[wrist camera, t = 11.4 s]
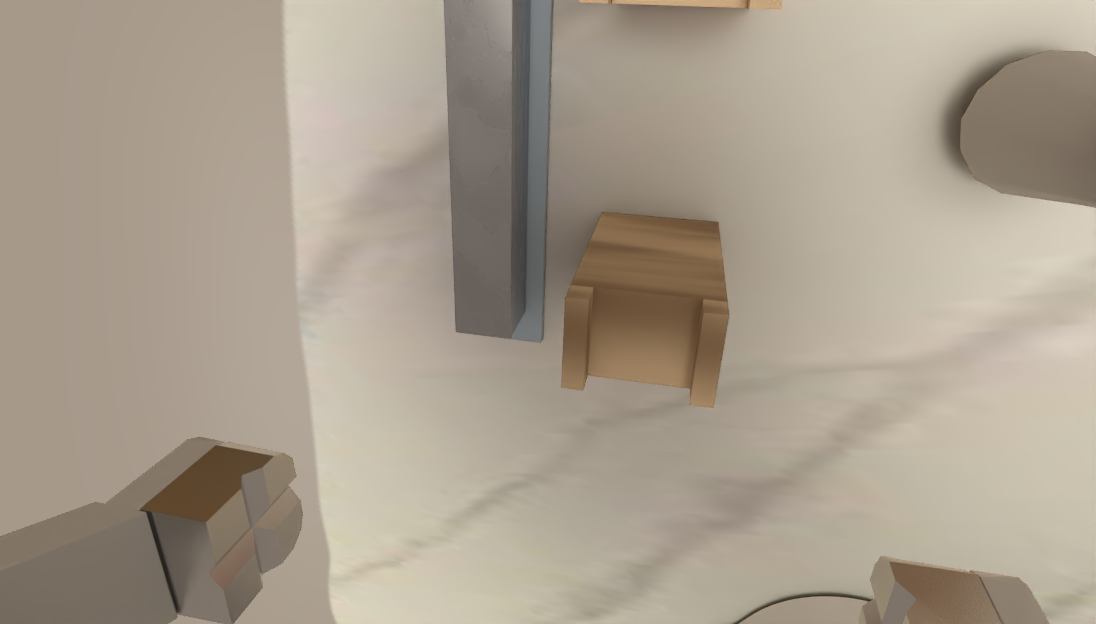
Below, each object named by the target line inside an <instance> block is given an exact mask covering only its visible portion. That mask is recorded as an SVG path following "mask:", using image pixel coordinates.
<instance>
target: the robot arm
mask: <svg viewBox="0 0 1096 624" xmlns="http://www.w3.org/2000/svg"><path fill="white" fill-rule="evenodd" d="M295 478H296V472H295V468H294V463H293V458H292V457H290V456H288V455H286V454H285V453H282V452H277V451H272V450H267V449H261V448H256V447H252V446H247V445H242V444H236V443H231V442H222V441H218V440H213V439H208V438H203V437H196V438H192V439H187V440H186V441H185V442H183V443H182V444H181V445H180V446H178V447H177V448H176V449H174V450H173V451H172V452H171V453H169V454H168V455H167V456H165V457H164V458H163V459H162V460H160V461H159V462H158V463H156V464H155V465H154V466H152V467H151V468H150V469H149V470H147V471H146V472H145V473H143V474H142V475H141V476H140V477H138V478H137V479H136V480H135V481H133V482H132V483H131V484H129V485H128V486H127V487H125V488H124V489H123V490H122V491H120V492H119V493H118V494H117V495H115V496H114V497H113V498H111V499H110V500H109V501H108V502H106V503H105V504H104V503H99V502H94V503H91V504H88V505H85V506H83V507H80V508H77V509H75V510H72V511H69V512H66V513H63V514H61V515H58V516H55V517H52V518H50V519H47V520H44V521H41V522H38V523H36V524H33V525H30V526H27V527H25V528H22V529H19V530H16V531H13V532H11V533H8V534H5V535H3V536H0V624H168V623H170V622H172V621H173V620H175V619H176V618H177V614H178V615H183V616H188V617H193V618H198V619H203V620H208V621H213V622H218V623H223V624H233V623H234V622H235V621H236V620H237V619H238V617H239V616H240V615H241V614H242V613H243V611H244V610H245V609H246V608H247V606H248V605H249V604H250V603H251V601H252V600H253V599H254V598H255V597H256V595H257V594H258V592H260V590H261V589H262V588H263V573H265V572H267V571H269V570H271V569H273V568H275V567H277V566H278V565H280V564H282V563H283V562H284V560H285V559H286V558H287V556H288V555H289V554H290V552H291V551H292V550H293V548H294V546H295V543H296V541H297V539H298V536H299V534H300V531H301V527H302V526H301V525H302V516H303V512H302V506H301V500H300V499H299V498H298V496H297V495H296V494H295V493H294V492H293V490H292V489H291V488H290V487H289V486H290V485H291V483H292V482H293V481H294V479H295ZM870 581H871V585H872V589H873V592H874V596H875V598H874V599H873V600H871V601H869V602H868V601H864V600H859V599H853V598H845V597H832V596H818V597H805V598H798V599H793V600H788V601H784V602H780V603H777V604H774V605H771V606H769V607H766V608H764V609H762V610H760V611H758V612H756V613H754V614H753V615H751V616H750V617H748V618H747V619H745V620H743V621H742V622H740V623H739V624H1049V622H1048V620H1047V618H1046V617H1045V615H1044V613H1043V611H1042V610H1041V608H1040V606H1039V604H1038V603H1037V601H1036V599H1035V597H1034V596H1033V594H1032V592H1031V590H1030V589H1029V587H1028V585H1027V584H1026V583H1024V582H1023V581H1022V580H1021V579H1019V578H1017V577H1011V576H1004V575H998V574H991V573H985V572H978V571H966V570H961V569H955V568H949V567H943V566H937V565H931V564H925V563H919V562H913V561H907V560H901V559H895V558H889V557H883V556H881V557H880V558H879V559H878V561H877V562H876V564H875V566H874V569H873V572H872V575H871V578H870Z"/></svg>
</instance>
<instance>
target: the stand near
mask: <svg viewBox="0 0 1096 624" xmlns="http://www.w3.org/2000/svg"><path fill="white" fill-rule="evenodd" d="M579 3H612V4H642V5H671V6H700V7H729V8H755V9H781V6H782V0H579Z"/></svg>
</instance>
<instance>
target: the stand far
mask: <svg viewBox="0 0 1096 624" xmlns="http://www.w3.org/2000/svg"><path fill="white" fill-rule="evenodd" d="M728 319H729V310H728V301H727V293H726V284H725V275H724V267H723V258H722V249H721V241H720V232H719V223H718V222H707V221H696V220H684V219H673V218H662V217H650V216H639V215H628V214H616V213H605V212H602V214H601V217H600V219H599V221H598V223H597V226H596V228H595V230H594V233H593V235H592V237H591V240H590V242H589V244H588V246H587V249H586V251H585V253H584V256H583V258H582V260H581V262H580V265H579V267H578V269H577V272H576V274H575V276H574V279H573V281H572V283H571V285H570V288H569V290H568V292H567V295H566V297H565V317H564V338H563V360H562V382H561V387H562V388H569V389H576V390H584V386H585V383H586V379H587V376H588V375H590V376H597V377H605V378H613V379H620V380H628V381H636V382H643V383H651V384H659V385H666V386H674V387H682V388H689V389H690V405H695V406H702V407H710V408H713V407H714V402H715V396H716V390H717V384H718V378H719V372H720V366H721V360H722V354H723V348H724V343H725V337H726V331H727V325H728Z"/></svg>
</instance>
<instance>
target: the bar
mask: <svg viewBox="0 0 1096 624" xmlns="http://www.w3.org/2000/svg"><path fill="white" fill-rule="evenodd" d="M444 16H445V44H446V72H447V99H448V127H449V155H450V182H451V210H452V238H453V265H454V293H455V321H456V332H461V333H469V334H477V335H485V336H493V337H501V338H509V339H511V337H512V335H513V333H514V331H515V329H516V328H517V326H518V324H519V322H520V320H521V318H522V317H523V315H524V313H525V311H526V265H527V205H528V145H529V85H530V25H531V0H444Z"/></svg>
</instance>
